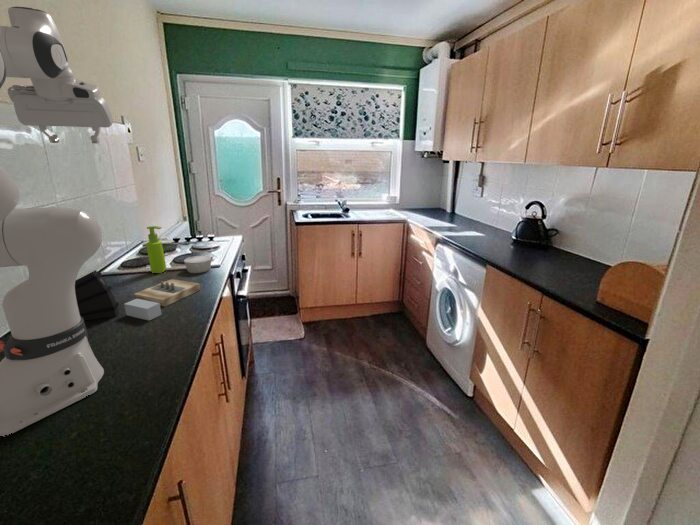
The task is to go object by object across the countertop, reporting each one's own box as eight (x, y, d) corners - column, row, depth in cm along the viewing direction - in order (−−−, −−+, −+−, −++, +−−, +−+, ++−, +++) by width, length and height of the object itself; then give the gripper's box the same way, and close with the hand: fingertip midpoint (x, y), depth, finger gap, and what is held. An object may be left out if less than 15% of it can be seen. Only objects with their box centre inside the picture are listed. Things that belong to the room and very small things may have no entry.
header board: (164, 306, 114) (162, 293, 112) (135, 300, 119) (132, 287, 117) (200, 289, 128) (198, 277, 127) (172, 284, 133) (170, 273, 131)
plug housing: (161, 314, 108) (159, 303, 107) (149, 320, 104) (147, 308, 103) (139, 309, 112) (136, 298, 110) (126, 315, 108) (124, 303, 107)
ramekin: (194, 265, 156) (193, 254, 155) (217, 266, 155) (216, 255, 153) (179, 273, 146) (178, 262, 144) (204, 275, 144) (202, 263, 143)
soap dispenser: (164, 273, 145) (156, 228, 139) (148, 273, 145) (140, 228, 139) (171, 269, 151) (164, 225, 145) (156, 269, 151) (148, 225, 145)
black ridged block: (126, 311, 107) (92, 272, 101) (86, 332, 105) (49, 294, 99) (130, 306, 110) (97, 269, 104) (91, 327, 109) (56, 290, 103)
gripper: (-2, 86, 80) (24, 145, 88) (100, 92, 86) (115, 146, 94) (9, 82, 85) (33, 138, 93) (105, 87, 91) (120, 139, 99)
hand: (75, 142), depth 94 cm, fingers open, 8 cm apart
